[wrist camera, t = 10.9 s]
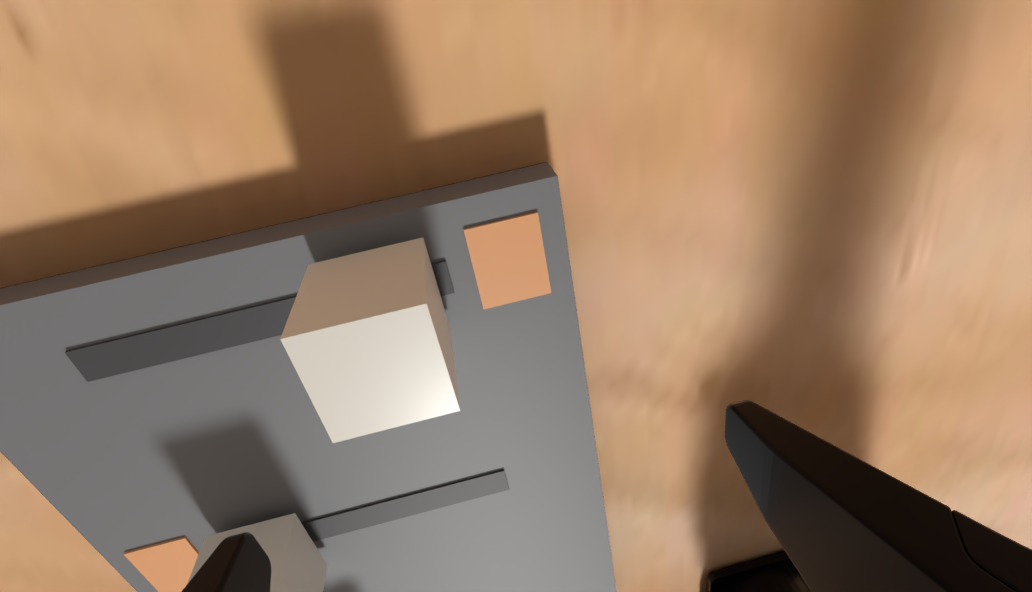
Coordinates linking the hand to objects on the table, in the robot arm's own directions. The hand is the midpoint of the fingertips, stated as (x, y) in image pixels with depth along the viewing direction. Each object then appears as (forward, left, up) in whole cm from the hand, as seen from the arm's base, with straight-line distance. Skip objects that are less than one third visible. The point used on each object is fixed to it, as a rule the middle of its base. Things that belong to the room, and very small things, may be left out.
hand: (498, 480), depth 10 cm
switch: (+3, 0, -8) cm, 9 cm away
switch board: (+6, +10, -10) cm, 16 cm away
